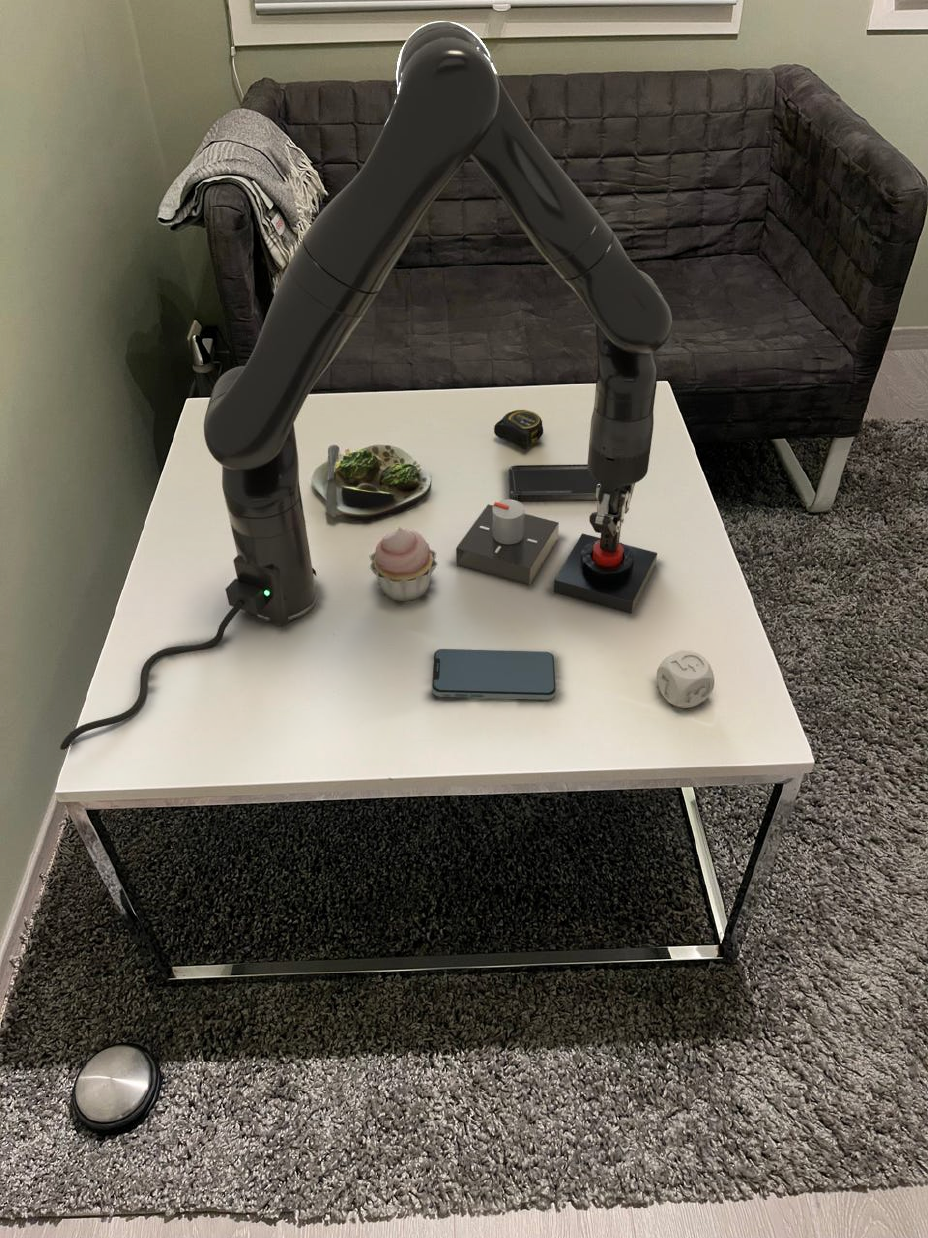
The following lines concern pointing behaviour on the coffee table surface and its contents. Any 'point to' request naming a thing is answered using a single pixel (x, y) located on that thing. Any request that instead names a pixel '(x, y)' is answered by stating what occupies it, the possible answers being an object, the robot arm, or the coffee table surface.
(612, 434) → the robot arm
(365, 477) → the salad plate
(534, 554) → the hob panel
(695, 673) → the die
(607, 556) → the button
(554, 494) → the phone
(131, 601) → the coffee table surface
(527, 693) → the smartphone
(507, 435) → the tape measure
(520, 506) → the hob knob
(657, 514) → the coffee table surface
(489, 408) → the coffee table surface
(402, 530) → the cupcake
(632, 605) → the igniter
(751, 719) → the coffee table surface
